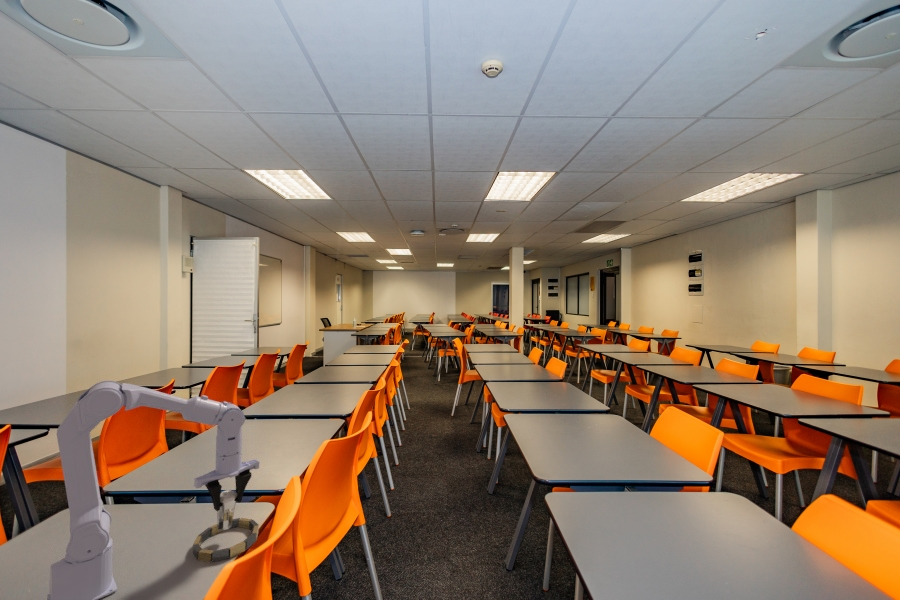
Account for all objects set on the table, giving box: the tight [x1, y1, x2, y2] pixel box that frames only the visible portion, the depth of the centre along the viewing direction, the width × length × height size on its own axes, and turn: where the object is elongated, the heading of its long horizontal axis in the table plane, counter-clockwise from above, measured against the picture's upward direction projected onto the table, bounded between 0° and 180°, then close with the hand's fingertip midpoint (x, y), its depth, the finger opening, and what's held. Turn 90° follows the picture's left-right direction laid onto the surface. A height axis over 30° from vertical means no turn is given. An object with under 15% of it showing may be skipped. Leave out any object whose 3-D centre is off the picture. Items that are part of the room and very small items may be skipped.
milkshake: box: [216, 489, 240, 532], centre depth 94 cm, size 4×5×10 cm
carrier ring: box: [192, 517, 260, 563], centre depth 93 cm, size 14×14×2 cm
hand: (227, 504), depth 93 cm, fingers closed on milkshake, 4 cm apart
